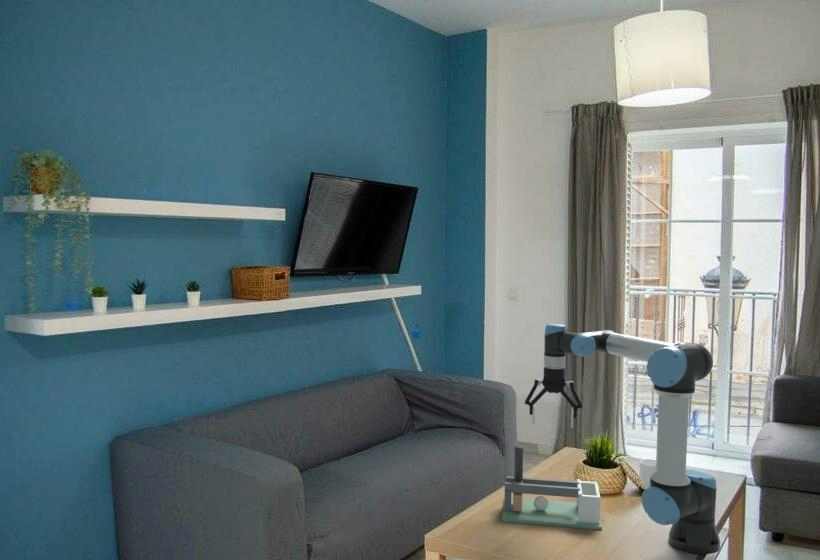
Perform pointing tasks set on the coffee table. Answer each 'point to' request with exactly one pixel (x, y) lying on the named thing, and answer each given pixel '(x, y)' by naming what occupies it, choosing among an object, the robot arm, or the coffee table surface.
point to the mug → (647, 470)
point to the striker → (518, 477)
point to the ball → (540, 503)
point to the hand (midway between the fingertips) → (552, 425)
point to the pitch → (555, 503)
